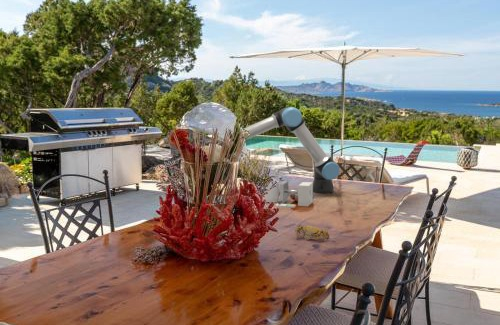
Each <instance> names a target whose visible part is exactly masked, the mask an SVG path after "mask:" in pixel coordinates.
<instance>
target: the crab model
mask: <svg viewBox="0 0 500 325" xmlns="http://www.w3.org/2000/svg"><path fill="white" fill-rule="evenodd" d="M294 231H295V234H296V235H297V236H298V237H301V238H304V241H306V242H308V241H309V240H315V241H316V240H319V239H321V238H322V237H323V240H322V242H323V243H324V242H326V240H329V239H330V235H329V234H330V233H329V230H326V229H320V228H319V227H317V226H311V225H305V226H304V225H302V224H298V226H297V227H296V228H295V230H294ZM301 233H302V234H303V235H304V236H303V235H302V234H301ZM315 237H316V238H315Z"/></svg>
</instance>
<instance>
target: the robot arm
mask: <svg viewBox="0 0 500 325" xmlns="http://www.w3.org/2000/svg"><path fill="white" fill-rule="evenodd" d="M284 126H285V127H286V128H287V130H288V132H290V133H293V134H294V136H296V138H297V139H298V141H299V143H301V145H302V146H303V148H304V149H305V150H306V152H307V153H308V155H309V156H310V157H311V159H312V161H313V165H314V166H313V181H312V182H313V193H318V194H319V193H320V194H329V193H334V192H335V187H334V185H333V180H336V179H337V178H338V177H339V175H340V172H341V168H340V166H339V164H338V163H337V162H335V161H334V159H333V158H332V156H331V155H330V154H327V153H326V152H325V151H324V149H323V148H322V147H321V145H320V144H319V143H318V141H317V140H316V139H315V137H314V135H313V134H312V133H311V132H310V130H309V128H308V126H307V125H306V120H305V119H304V118H303V115H302V113H301V111H300V110H299V109H298V108H296V107H293V106H289V107H284V108H282V109H280V110H278V111H277V112H274V113H272V114H271V116H269V117H267V118H264V119H262V120H260V121H258V122H256V123H253V124H251V125H249V126H246V127H244V128H243V129H245V130H247V131H249V133H250V135H249V137H248V138H247V140H250V139H252V138H254V137H257V136H258V135H261V134H263V133H265V132H268V131H270V130H272V129H275V128H280V127H284Z"/></svg>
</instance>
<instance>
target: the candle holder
mask: <svg viewBox="0 0 500 325" xmlns="http://www.w3.org/2000/svg"><path fill="white" fill-rule="evenodd" d="M276 181H277V182H279V183H278V184H277V186H276V187H274V188H273V189H271V190H270V191H269V192H268V194H267V195H266V196H265V199H266V201H267V202H269V203H268V204H272V203H271V202H274V203H273V204H275V202H276V203H278V202H279V199H280V184H281V183H280V181H279V180H276ZM271 186H272V184H270V186H269V187H268V189H269V188H270V187H271ZM267 202H266V203H267Z"/></svg>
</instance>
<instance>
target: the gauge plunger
mask: <svg viewBox="0 0 500 325" xmlns="http://www.w3.org/2000/svg"><path fill="white" fill-rule="evenodd" d="M289 194H298V189H289V181H288V180H284V181H283V182H281V183H279V201H278V202H277V203H278V204H286V202H288V200H289Z"/></svg>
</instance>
